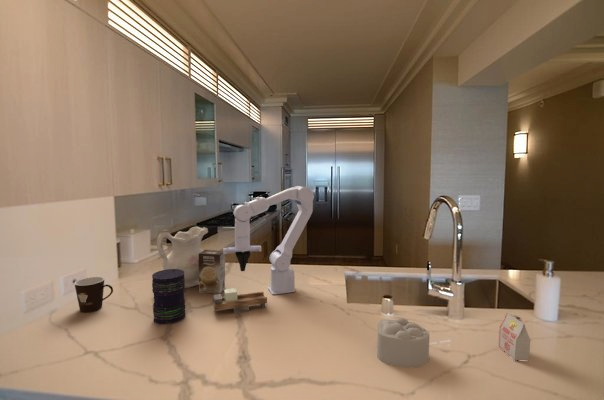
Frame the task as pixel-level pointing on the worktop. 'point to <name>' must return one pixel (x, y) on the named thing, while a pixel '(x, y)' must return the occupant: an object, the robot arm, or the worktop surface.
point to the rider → (230, 295)
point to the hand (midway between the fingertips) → (242, 270)
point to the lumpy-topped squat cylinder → (402, 343)
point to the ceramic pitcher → (183, 253)
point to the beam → (240, 302)
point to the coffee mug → (90, 293)
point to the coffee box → (211, 271)
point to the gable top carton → (514, 338)
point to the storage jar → (168, 296)
